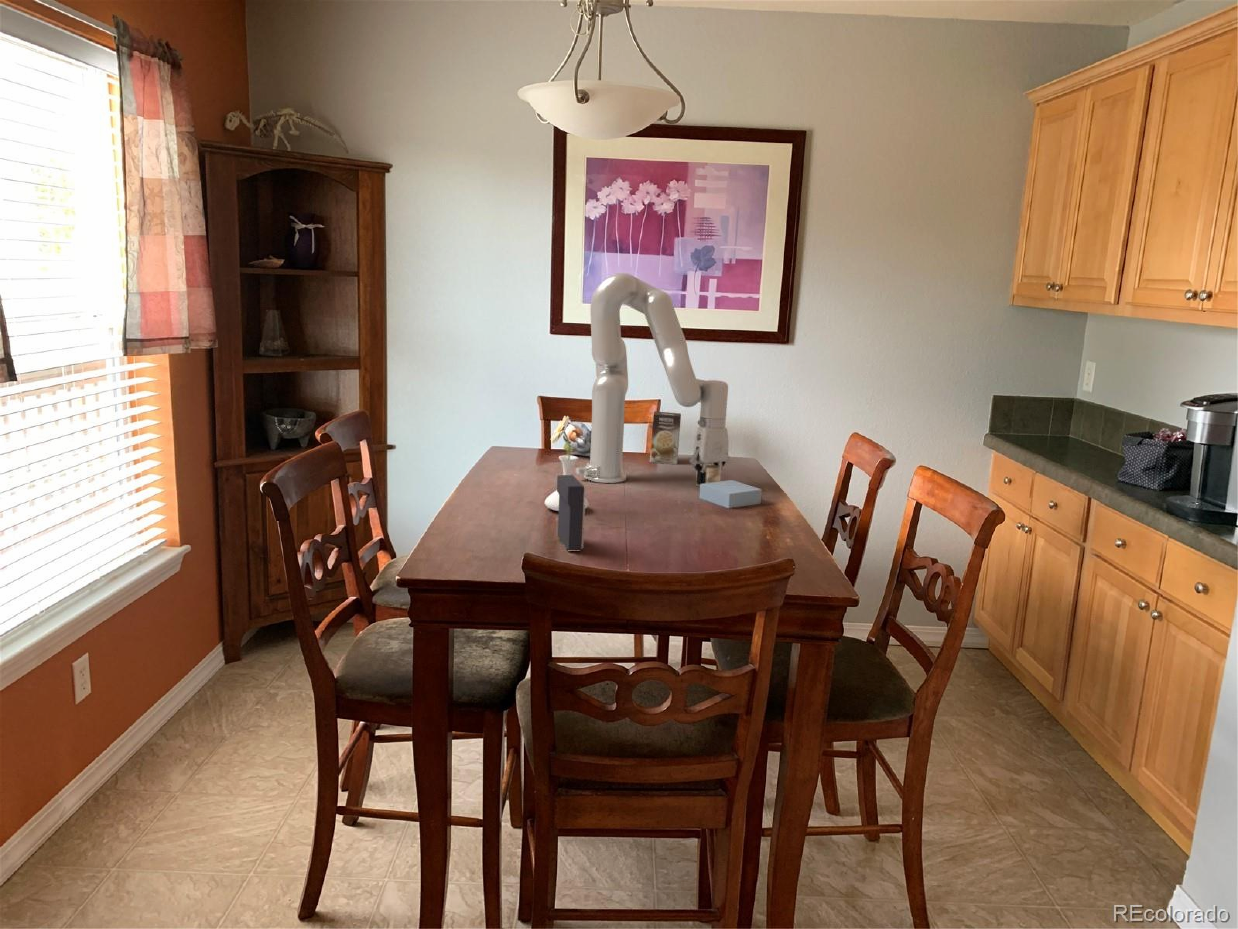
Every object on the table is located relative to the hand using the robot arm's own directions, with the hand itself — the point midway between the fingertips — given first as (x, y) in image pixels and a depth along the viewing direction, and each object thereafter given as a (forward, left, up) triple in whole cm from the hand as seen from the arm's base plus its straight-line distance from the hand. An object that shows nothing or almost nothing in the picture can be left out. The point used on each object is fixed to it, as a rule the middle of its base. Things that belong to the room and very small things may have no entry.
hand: (708, 483), depth 268 cm
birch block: (0, 0, -1) cm, 1 cm away
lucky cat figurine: (-10, +51, -1) cm, 52 cm away
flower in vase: (-53, -5, -1) cm, 53 cm away
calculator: (-68, -30, -1) cm, 74 cm away
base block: (-6, -16, -1) cm, 17 cm away
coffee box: (+9, +32, -1) cm, 33 cm away
